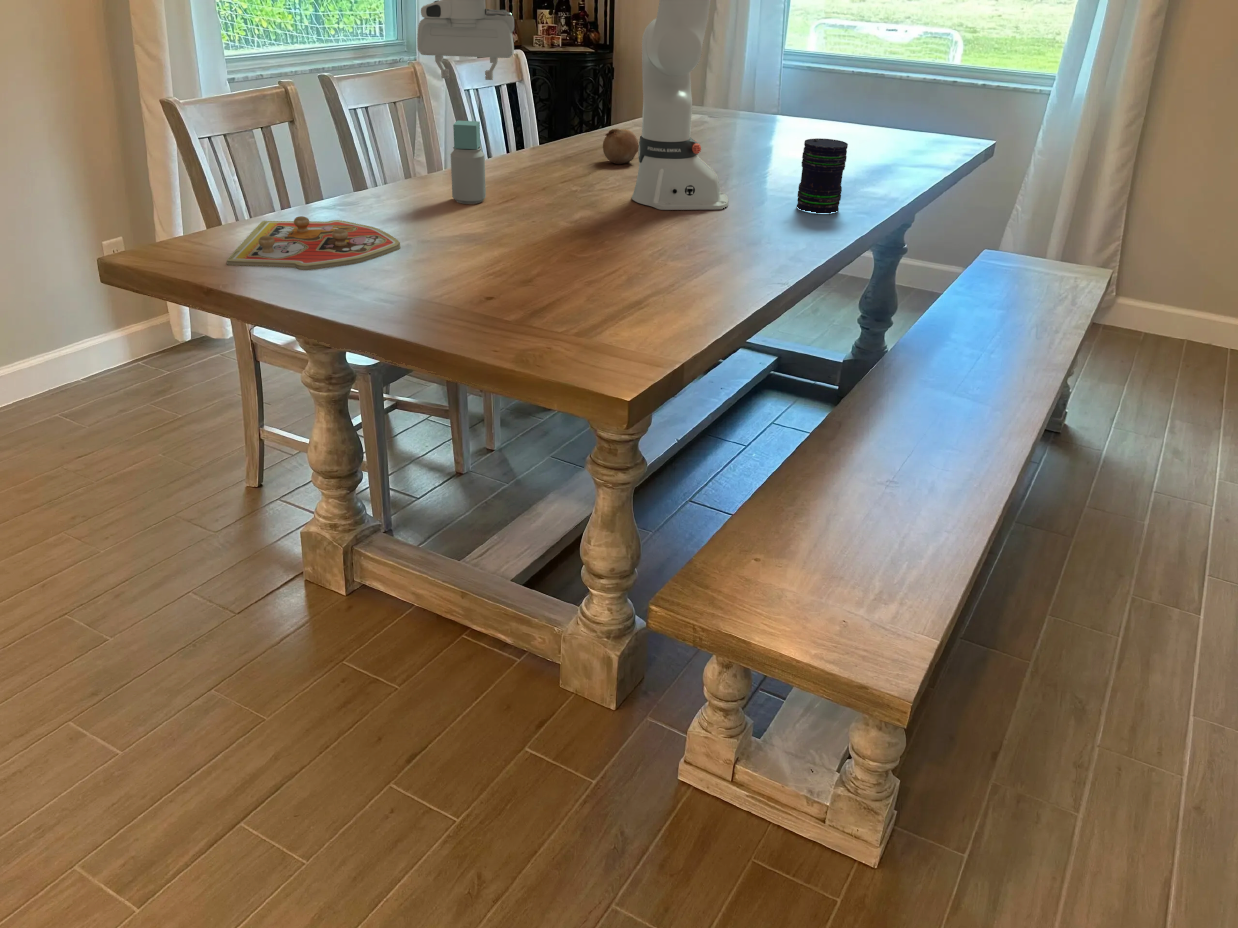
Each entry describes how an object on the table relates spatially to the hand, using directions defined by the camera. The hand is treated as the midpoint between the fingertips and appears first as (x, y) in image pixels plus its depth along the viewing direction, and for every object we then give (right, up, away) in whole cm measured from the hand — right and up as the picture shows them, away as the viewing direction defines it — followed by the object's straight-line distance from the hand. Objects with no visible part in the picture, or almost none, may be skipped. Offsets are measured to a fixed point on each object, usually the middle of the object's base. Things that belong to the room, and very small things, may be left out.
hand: (467, 79), depth 214 cm
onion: (+33, -3, +52) cm, 62 cm away
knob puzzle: (-25, -42, -22) cm, 53 cm away
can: (-1, -23, +12) cm, 26 cm away
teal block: (-1, -13, +6) cm, 14 cm away
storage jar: (+79, -24, +17) cm, 84 cm away
